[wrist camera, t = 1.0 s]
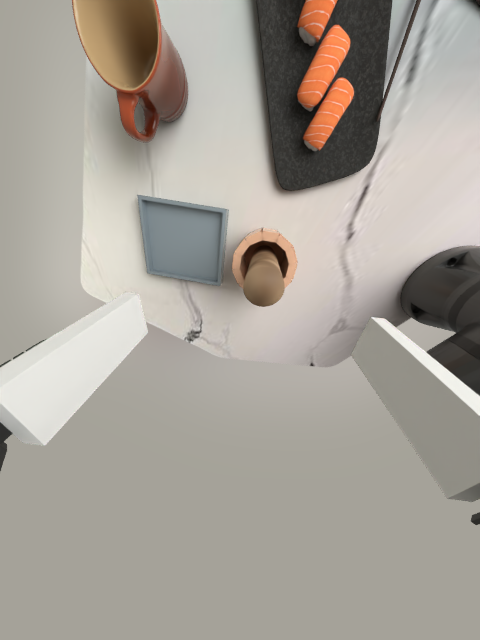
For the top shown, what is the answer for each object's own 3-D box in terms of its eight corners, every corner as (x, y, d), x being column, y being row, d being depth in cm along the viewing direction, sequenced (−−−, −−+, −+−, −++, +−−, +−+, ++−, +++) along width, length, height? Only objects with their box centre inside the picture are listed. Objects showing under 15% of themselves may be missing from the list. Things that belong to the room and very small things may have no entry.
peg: (278, 247, 34) (289, 271, 18) (272, 270, 36) (278, 309, 21) (254, 243, 34) (246, 263, 18) (250, 266, 36) (240, 302, 21)
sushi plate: (239, -139, 18) (234, -220, 15) (682, -458, 12) (848, -727, 8) (277, 197, 31) (279, 194, 28) (493, 135, 25) (528, 122, 22)
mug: (137, 30, 24) (61, -83, 15) (200, 54, 24) (163, -42, 15) (138, 147, 30) (84, 117, 21) (188, 165, 30) (157, 143, 21)
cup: (295, 233, 33) (305, 237, 25) (282, 284, 38) (286, 300, 30) (243, 224, 33) (236, 226, 26) (236, 276, 39) (229, 290, 31)
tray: (228, 209, 33) (226, 209, 31) (222, 282, 40) (219, 285, 38) (144, 196, 33) (137, 194, 31) (152, 270, 40) (147, 273, 38)
